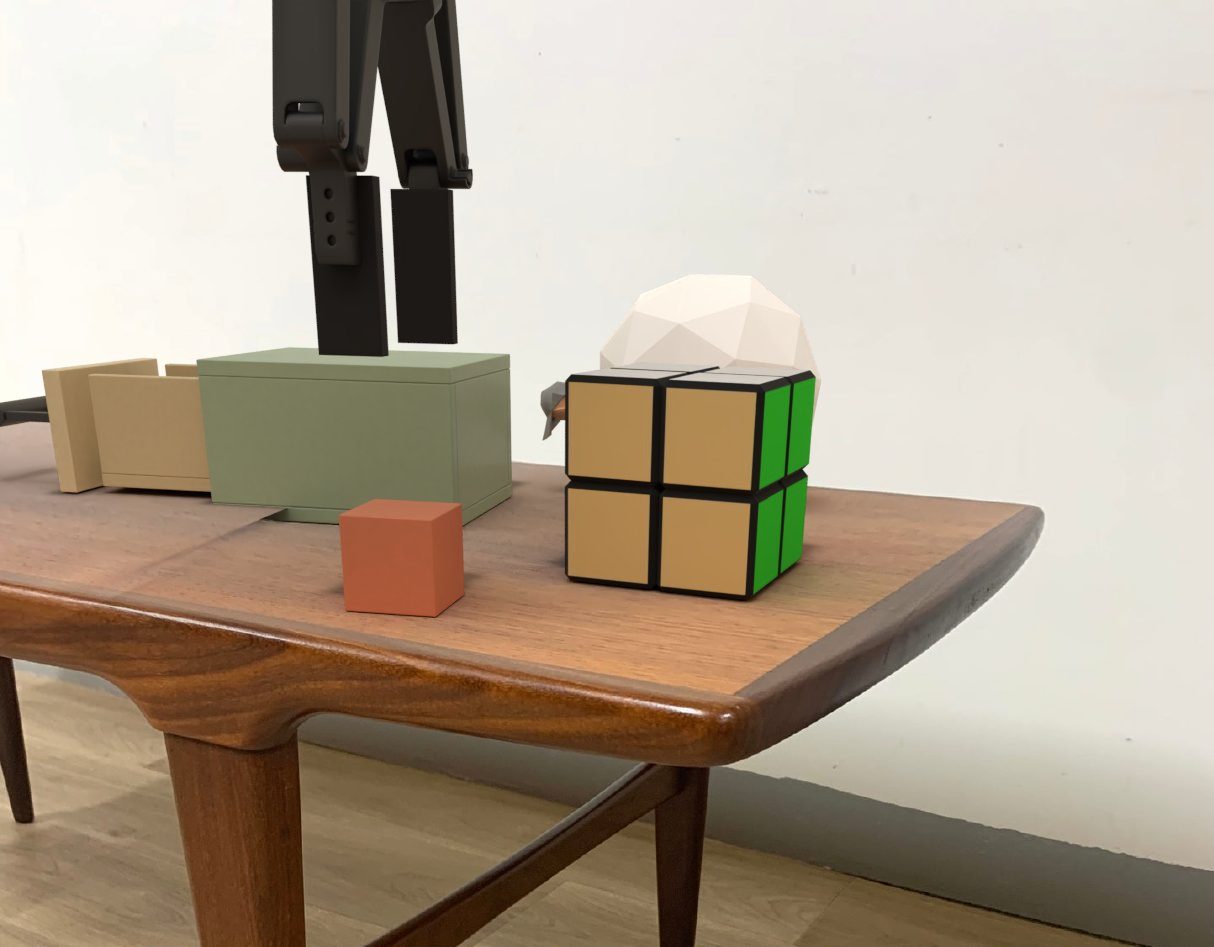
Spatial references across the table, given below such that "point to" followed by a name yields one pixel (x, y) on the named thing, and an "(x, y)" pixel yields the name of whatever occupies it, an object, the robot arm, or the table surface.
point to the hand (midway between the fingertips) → (393, 348)
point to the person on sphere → (702, 332)
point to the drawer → (121, 425)
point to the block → (402, 557)
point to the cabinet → (356, 430)
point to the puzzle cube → (686, 476)
